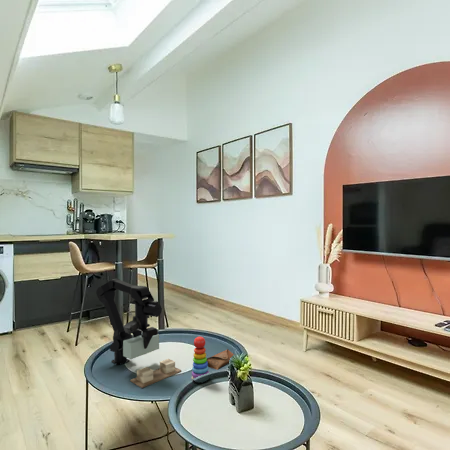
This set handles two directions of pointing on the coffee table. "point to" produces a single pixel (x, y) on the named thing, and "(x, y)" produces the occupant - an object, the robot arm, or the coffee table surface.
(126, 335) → the robot arm
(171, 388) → the coffee table surface
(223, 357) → the sunglasses case
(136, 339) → the lintel
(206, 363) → the stacking toy
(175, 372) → the bridge base
